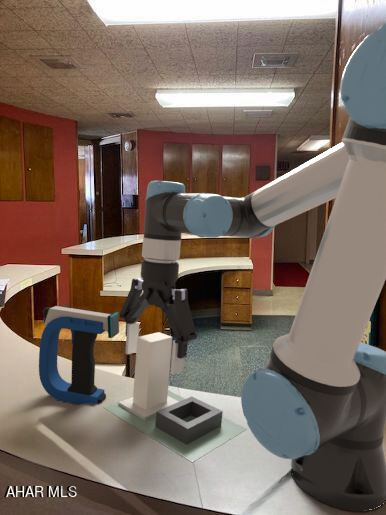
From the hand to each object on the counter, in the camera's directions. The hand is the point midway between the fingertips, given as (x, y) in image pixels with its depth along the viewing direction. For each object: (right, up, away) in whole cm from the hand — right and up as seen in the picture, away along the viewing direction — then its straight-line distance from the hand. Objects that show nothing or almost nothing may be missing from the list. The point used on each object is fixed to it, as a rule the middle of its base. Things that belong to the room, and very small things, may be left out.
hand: (152, 362), depth 85 cm
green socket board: (+4, -11, -3) cm, 12 cm away
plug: (-1, -9, +1) cm, 9 cm away
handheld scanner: (-17, -9, +3) cm, 19 cm away
